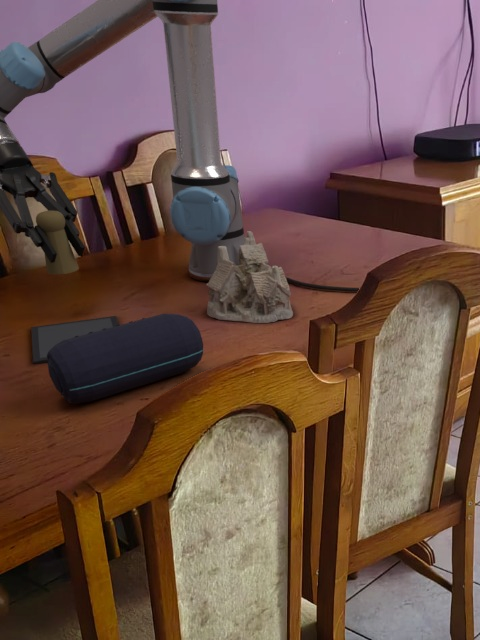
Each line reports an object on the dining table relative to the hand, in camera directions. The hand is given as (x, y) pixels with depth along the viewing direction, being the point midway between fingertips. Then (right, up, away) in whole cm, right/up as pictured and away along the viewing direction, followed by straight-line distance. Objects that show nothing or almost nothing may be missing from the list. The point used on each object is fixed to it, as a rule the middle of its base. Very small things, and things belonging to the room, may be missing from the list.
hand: (68, 254), depth 161 cm
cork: (-3, -2, +4) cm, 5 cm away
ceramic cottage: (+34, -9, +8) cm, 36 cm away
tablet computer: (+3, -17, -3) cm, 18 cm away
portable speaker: (+20, -30, -23) cm, 42 cm away
